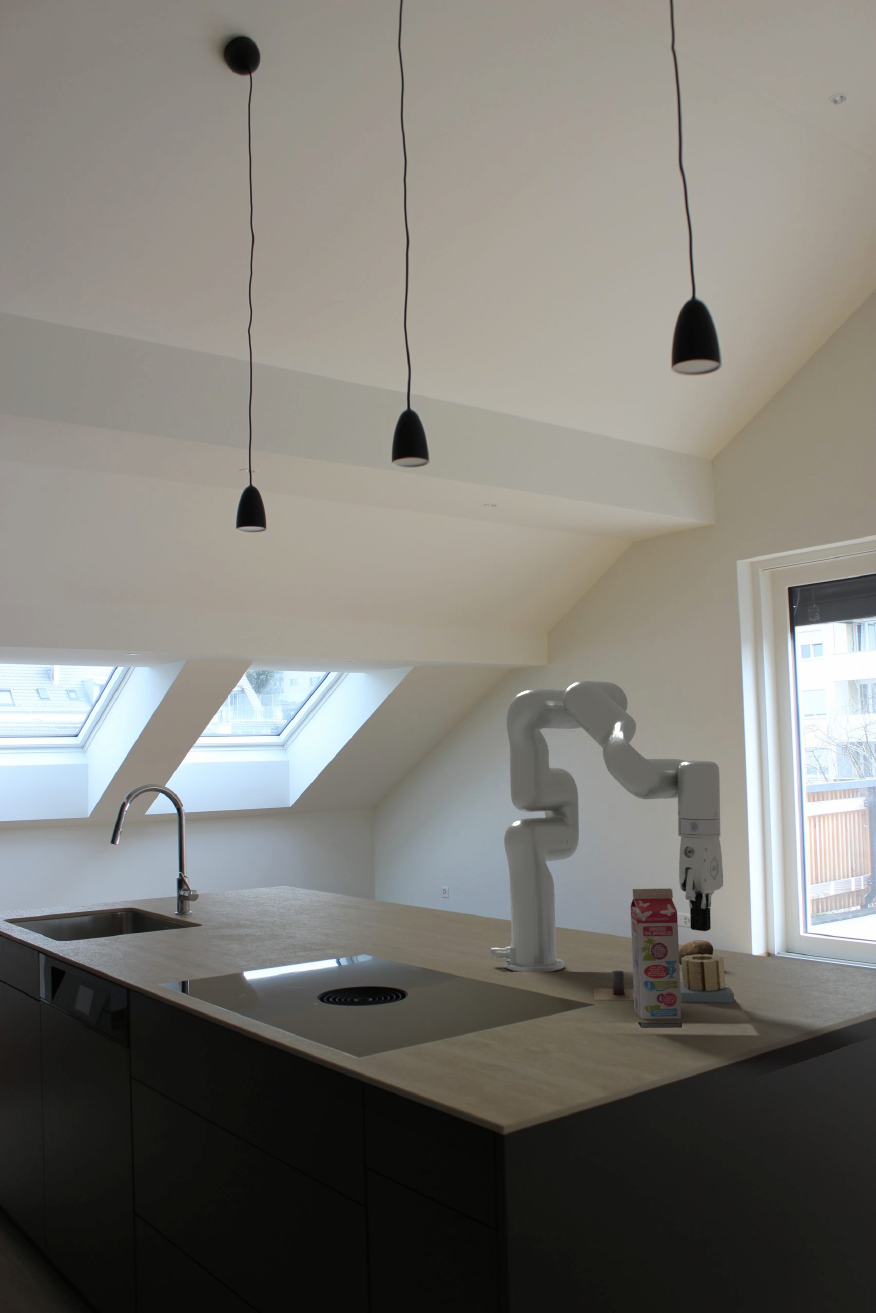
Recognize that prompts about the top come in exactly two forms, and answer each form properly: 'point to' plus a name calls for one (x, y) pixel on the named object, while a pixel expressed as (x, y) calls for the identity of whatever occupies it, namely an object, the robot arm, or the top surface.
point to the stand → (615, 989)
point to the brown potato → (695, 949)
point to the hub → (706, 995)
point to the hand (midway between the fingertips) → (700, 929)
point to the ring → (703, 972)
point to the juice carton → (655, 957)
